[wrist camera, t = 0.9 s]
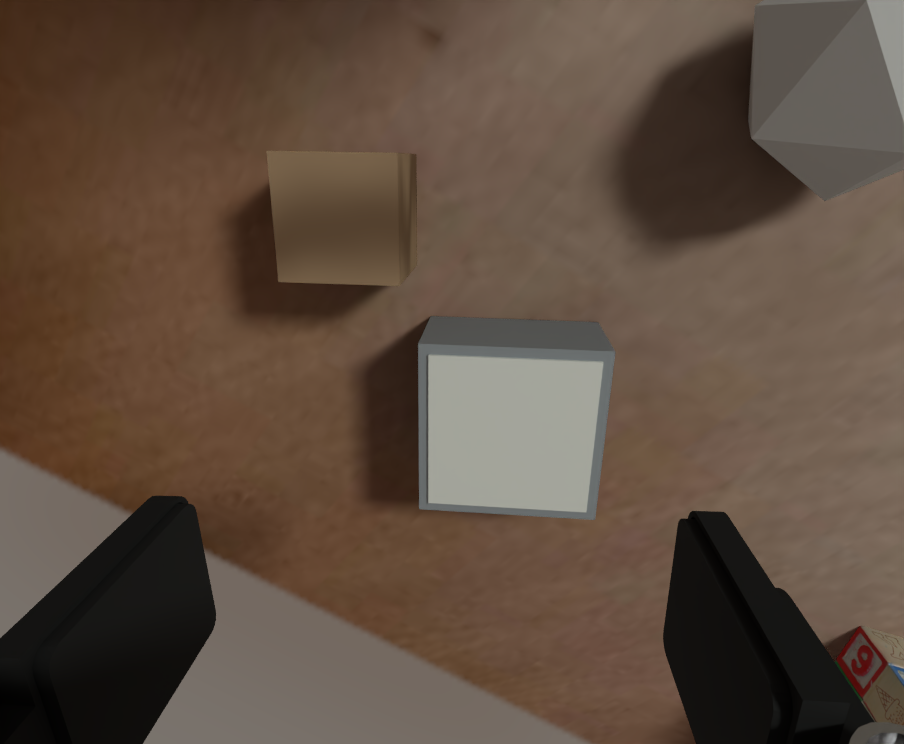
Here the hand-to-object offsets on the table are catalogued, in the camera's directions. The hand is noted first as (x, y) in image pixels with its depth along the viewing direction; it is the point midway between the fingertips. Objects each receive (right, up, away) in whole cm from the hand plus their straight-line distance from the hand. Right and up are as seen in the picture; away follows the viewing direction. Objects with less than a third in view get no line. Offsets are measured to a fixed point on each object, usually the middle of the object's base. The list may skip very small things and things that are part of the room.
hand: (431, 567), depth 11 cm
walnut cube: (-4, +12, +19) cm, 23 cm away
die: (+17, +17, +15) cm, 28 cm away
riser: (+4, +2, +21) cm, 22 cm away
